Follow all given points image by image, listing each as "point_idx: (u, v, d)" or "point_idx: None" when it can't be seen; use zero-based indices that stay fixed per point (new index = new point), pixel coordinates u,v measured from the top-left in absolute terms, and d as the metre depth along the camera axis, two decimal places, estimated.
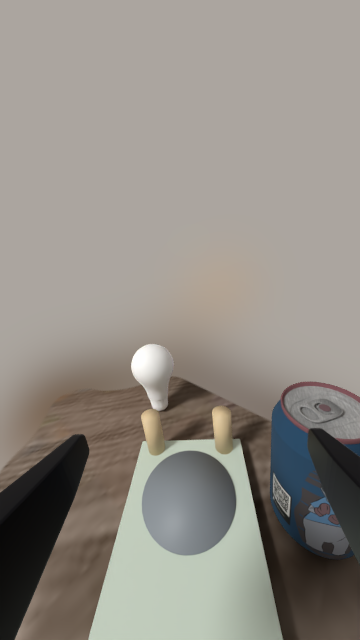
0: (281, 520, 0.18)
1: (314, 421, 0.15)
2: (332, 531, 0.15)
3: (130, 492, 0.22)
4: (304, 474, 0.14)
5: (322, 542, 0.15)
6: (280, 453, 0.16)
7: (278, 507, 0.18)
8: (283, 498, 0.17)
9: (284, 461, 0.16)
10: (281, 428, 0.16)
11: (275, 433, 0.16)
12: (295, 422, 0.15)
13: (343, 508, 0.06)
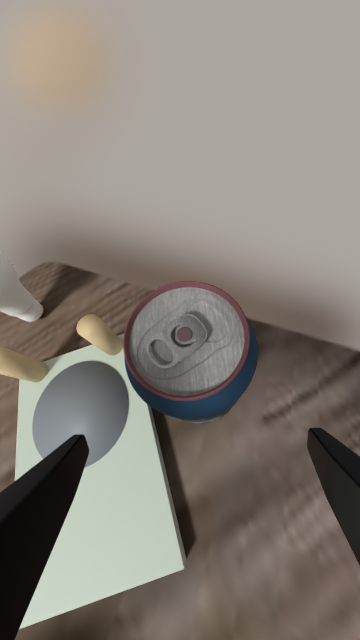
0: None
1: (165, 367, 0.09)
2: (204, 421, 0.15)
3: (18, 431, 0.20)
4: None
5: None
6: None
7: None
8: None
9: None
10: (129, 375, 0.11)
11: None
12: (137, 380, 0.09)
13: (343, 508, 0.06)
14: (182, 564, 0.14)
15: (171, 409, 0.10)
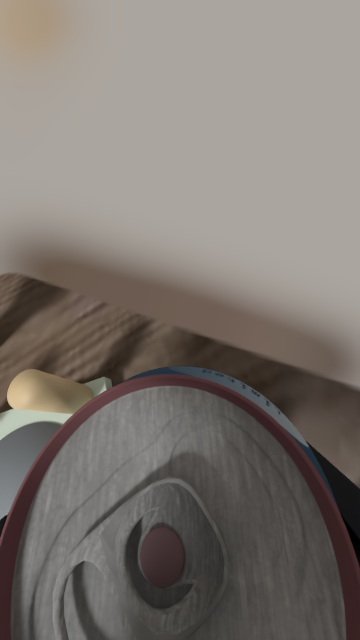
0: None
1: None
2: None
3: None
4: None
5: None
6: None
7: None
8: None
9: None
10: None
11: None
12: None
13: None
14: None
15: None
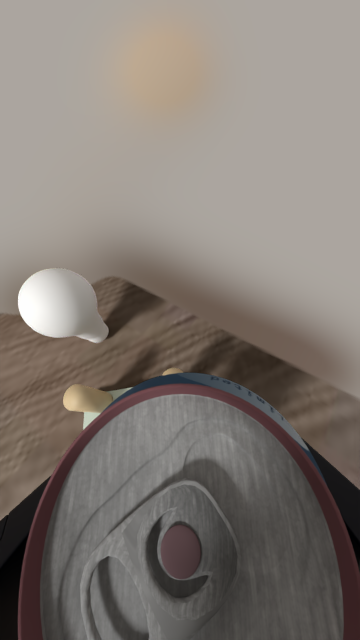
0: None
1: None
2: None
3: None
4: None
5: None
6: None
7: None
8: None
9: None
10: None
11: None
12: None
13: None
14: None
15: None
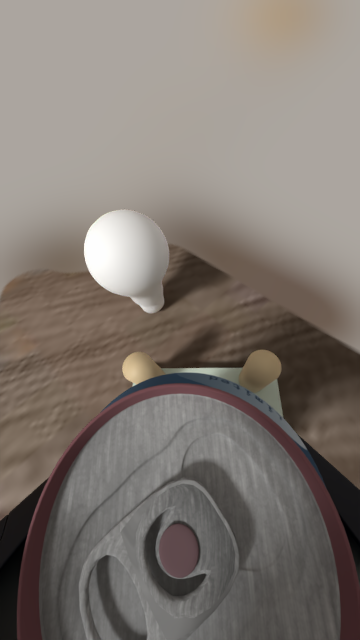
0: None
1: None
2: None
3: None
4: None
5: None
6: None
7: None
8: None
9: None
10: None
11: None
12: None
13: None
14: None
15: None
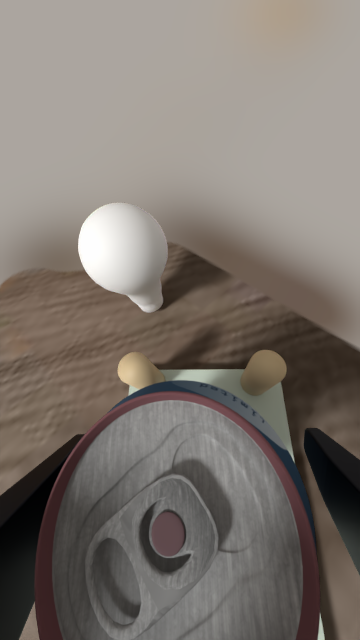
0: None
1: (121, 637, 0.04)
2: None
3: None
4: None
5: None
6: None
7: None
8: None
9: None
10: None
11: None
12: None
13: (338, 508, 0.06)
14: None
15: None
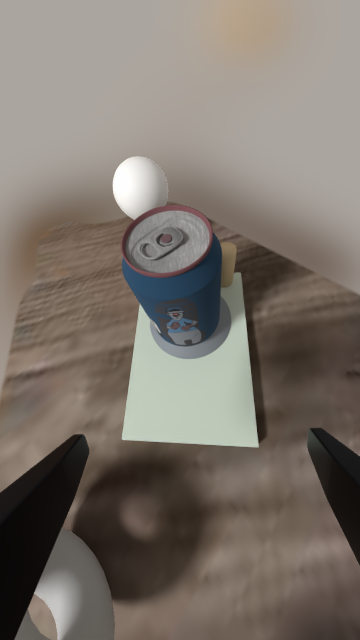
0: (159, 334, 0.22)
1: (151, 259, 0.13)
2: (186, 334, 0.18)
3: (139, 320, 0.25)
4: (153, 308, 0.15)
5: (183, 340, 0.20)
6: (135, 295, 0.16)
7: (155, 328, 0.21)
8: (153, 323, 0.19)
9: (139, 300, 0.16)
10: (126, 273, 0.14)
11: None
12: (130, 266, 0.13)
13: (343, 508, 0.06)
14: (257, 444, 0.18)
15: (155, 290, 0.13)
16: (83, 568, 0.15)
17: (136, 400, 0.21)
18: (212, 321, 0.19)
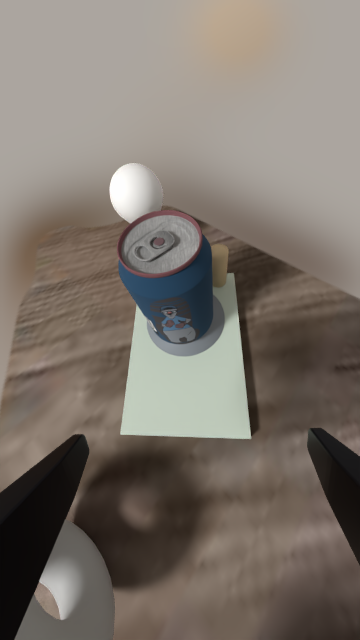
0: (156, 333, 0.23)
1: (145, 260, 0.14)
2: (181, 331, 0.19)
3: (136, 320, 0.26)
4: (148, 307, 0.16)
5: (178, 338, 0.21)
6: (131, 294, 0.17)
7: None
8: (149, 322, 0.20)
9: (135, 300, 0.17)
10: (122, 274, 0.15)
11: None
12: (126, 267, 0.14)
13: (343, 508, 0.06)
14: (250, 435, 0.19)
15: (149, 289, 0.14)
16: (84, 556, 0.16)
17: (134, 396, 0.22)
18: (205, 319, 0.20)
